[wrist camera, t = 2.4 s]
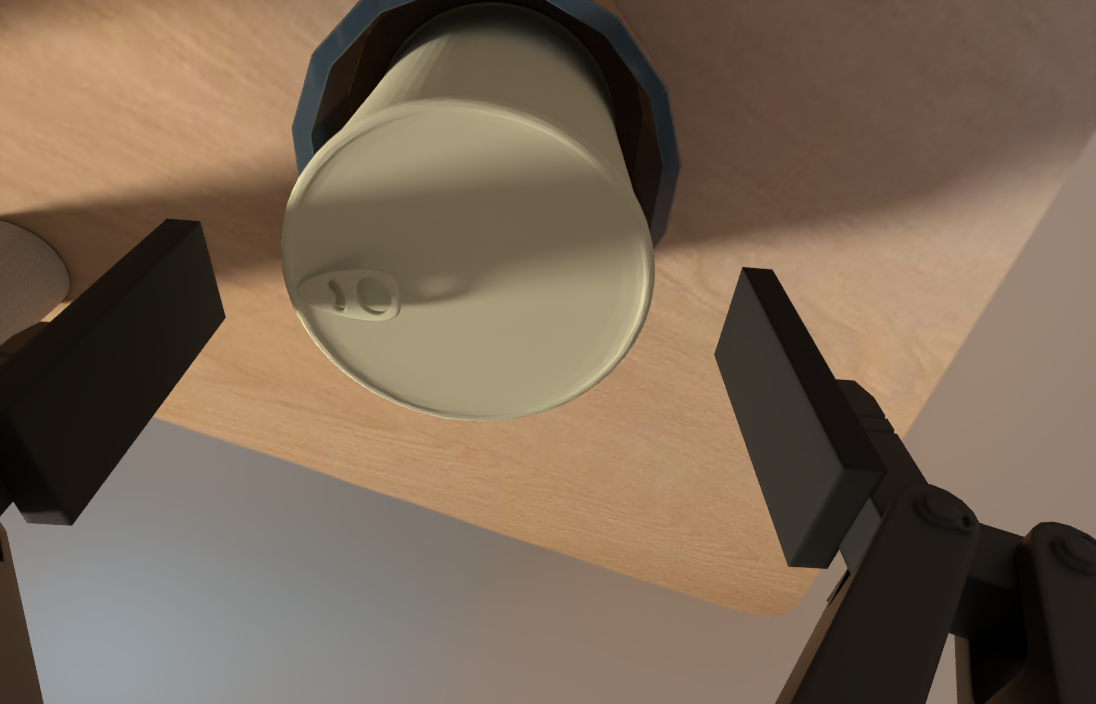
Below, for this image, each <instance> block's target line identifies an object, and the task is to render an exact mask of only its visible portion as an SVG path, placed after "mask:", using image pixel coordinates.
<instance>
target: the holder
mask: <svg viewBox="0 0 1096 704" xmlns="http://www.w3.org/2000/svg"><path fill="white" fill-rule="evenodd" d="M413 1H416V0H360V1H359V2H358V3H357V4H356V5H355V6H354V7H353V8H352V9H351V11H350V12H349V13H348V14H347V15H346V16H345V17H344V18H343V19H342V21H341V22H340V23H339V24H338V25H337V26H336V27H335V28H334V29H333V31H332V32H331V33H330V34H329V35H328V36H327V37H326V38H325V39H324V41H323V42H322V43H321V44H320V45H319V46H318V47H317V48H316V49H315V51H314V52H313V54H312V56H311V59H310V63H309V66H308V70H307V74H306V77H305V81H304V85H303V88H302V92H301V96H300V99H299V103H298V106H297V110H296V114H295V117H294V121H293V125H292V136H293V142H294V149H295V155H296V162H297V168H298V174H299V177H300V175H301V173H302V172H303V170H304V169H305V168H306V166H307V165H308V163H309V162H310V161H311V159H312V158H313V157H314V155H315V154H316V153H317V152H318V151H319V150H320V149H321V148H322V147H323V146H324V145H325V144H326V143H327V142H328V141H329V140H330V139H331V138H332V137H333V136H335V135H336V134H337V133H338V132H339V131H341V130H342V129H343V127H344V126H345V125H346V124H347V122H348V121H349V120H350V119H351V118H352V111H351V100H350V89H351V86H352V82H353V79H354V76H355V73H356V70H357V67H358V64H359V61H360V57H361V54H362V51H363V48H364V45H365V42H366V39H367V36H368V33H369V32H370V31H371V30H372V29H373V28H374V27H375V26H376V24H377V23H378V22H379V21H380V20H381V19H382V18H383V17H384V16H385V15H386V14H387V13H388V12H389V11H390V10H392V9H394V8H397V7H400V6H403V5H405V4H408V3H411V2H413ZM546 1H548V2H549V3H551V4H553V5H554V6H556V7H558V8H559V9H561V10H563V11H564V12H566V13H568V14H569V15H571V16H573V17H574V18H576V19H578V20H579V21H581V22H583V23H584V24H586V25H588V26H589V27H591V28H593V29H594V30H596V31H598V32H599V33H601V34H603V35H604V36H606V38H607V39H608V41H609V42H610V43H611V45H612V46H613V48H614V49H615V51H616V52H617V53H618V55H619V56H620V58H621V59H622V61H623V62H624V63H625V65H626V66H627V68H628V69H629V71H630V72H631V73H632V75H633V76H634V78H635V81H636V86H637V90H638V95H639V100H640V105H641V109H642V114H643V125H642V130H641V136H640V141H639V147H638V152H637V157H636V163H635V168H634V174H633V176H632V178H631V179H630V182H631V185H632V188H633V192H634V194H635V196H636V198H637V200H638V202H639V204H640V206H641V208H642V211H643V213H644V215H645V218H646V221H647V224H648V228H649V232H650V235H651V240H652V245H653V250H654V249H655V247H656V246H657V245H658V243H659V242H660V240H661V239H662V238H663V236H664V235H665V233H666V230H667V226H668V221H669V217H670V213H671V208H672V204H673V200H674V195H675V191H676V187H677V182H678V178H679V174H680V169H681V159H680V153H679V148H678V142H677V137H676V131H675V126H674V120H673V115H672V109H671V104H670V98H669V93H668V89H667V86H666V85H665V83H664V81H663V79H662V78H661V76H660V74H659V72H658V71H657V69H656V67H655V65H654V64H653V62H652V60H651V58H650V57H649V55H648V53H647V51H646V50H645V48H644V47H643V45H642V44H641V42H640V41H639V39H638V38H637V36H636V35H635V33H634V32H633V30H632V29H631V27H630V26H629V24H628V23H627V21H626V20H625V18H624V17H623V15H622V14H621V13H620V11H619V10H618V8H617V7H616V5H615V4H614V2H613V1H612V0H546Z"/></svg>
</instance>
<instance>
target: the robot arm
mask: <svg viewBox="0 0 1096 704" xmlns="http://www.w3.org/2000/svg"><path fill="white" fill-rule="evenodd" d="M225 318H226V317H225V313H224V309H223V306H222V302H221V298H220V294H219V290H218V286H217V283H216V279H215V275H214V271H213V267H212V264H211V260H210V256H209V252H208V248H207V245H206V241H205V237H204V233H203V229H202V226H201V222H200V221H191V220H179V219H168V218H167V219H166V220H165V221H164V222H163V223H161V224H160V225H159V226H158V227H157V228H156V229H155V230H153V231H152V232H151V233H150V234H149V235H148V236H147V237H146V238H144V239H143V240H142V241H141V242H140V243H139V244H138V245H137V246H135V247H134V248H133V249H132V250H131V251H130V252H129V253H128V254H126V255H125V256H124V257H123V258H122V259H121V260H120V261H118V262H117V263H116V264H115V265H114V266H113V267H112V268H111V269H109V270H108V271H107V272H106V273H105V274H104V275H103V276H102V277H100V278H99V279H98V280H97V281H96V282H95V283H94V284H93V285H91V286H90V287H89V288H88V289H87V290H86V291H85V292H84V293H82V294H81V295H80V296H79V297H78V298H77V299H76V300H74V301H73V302H72V303H71V304H70V305H69V306H68V307H67V308H65V309H64V310H63V311H62V312H61V313H60V314H59V315H58V316H56V317H55V318H54V319H53V320H52V321H51V322H41V321H40V322H38V323H36V324H34V325H32V326H30V327H28V328H26V329H24V330H22V331H20V332H18V333H16V334H14V335H12V336H11V337H10V338H9V339H8V340H6V341H5V342H4V343H3V344H2V345H1V346H0V516H1V515H2V514H3V513H4V511H5V510H6V509H7V508H8V506H9V505H10V504H11V503H12V502H14V503H15V505H16V506H17V508H18V510H19V511H20V513H21V514H22V515H23V517H24V519H25V520H26V522H27V523H36V524H53V525H70V526H72V525H73V524H74V522H75V521H76V519H77V518H78V517H79V515H80V514H81V513H82V511H83V510H84V509H85V507H86V506H87V505H88V503H89V502H90V500H91V499H92V498H93V496H94V495H95V494H96V492H97V491H98V490H99V488H100V487H101V485H102V484H103V483H104V482H105V480H106V479H107V477H108V476H109V475H110V473H111V472H112V471H113V469H114V468H115V467H116V465H117V464H118V463H119V461H120V460H121V459H122V457H123V456H124V455H125V453H126V452H127V450H128V449H129V448H130V446H131V445H132V444H133V442H134V441H135V440H136V438H137V437H138V436H139V434H140V433H141V431H142V430H143V429H144V427H145V426H146V425H147V423H148V422H149V421H150V419H151V418H152V417H153V415H154V414H155V413H156V411H157V410H158V408H159V407H160V406H161V404H162V403H163V402H164V400H165V399H166V398H167V396H168V395H169V394H170V392H171V391H172V390H173V388H174V387H175V385H176V384H177V383H178V381H179V380H180V379H181V377H182V376H183V375H184V373H185V372H186V371H187V369H188V368H189V367H190V365H191V364H192V362H193V361H194V360H195V358H196V357H197V356H198V354H199V353H200V352H201V350H202V349H203V348H204V346H205V345H206V343H207V342H208V341H209V339H210V338H211V337H212V335H213V334H214V333H215V331H216V330H217V329H218V327H219V326H220V325H221V323H222V322H223V320H224V319H225ZM714 355H715V358H716V361H717V364H718V367H719V370H720V373H721V375H722V378H723V381H724V384H725V387H726V390H727V393H728V395H729V398H730V401H731V404H732V407H733V410H734V413H735V415H736V418H737V421H738V424H739V427H740V430H741V433H742V436H743V438H744V441H745V444H746V447H747V450H748V453H749V456H750V458H751V461H752V464H753V467H754V470H755V473H756V476H757V478H758V481H759V484H760V487H761V490H762V493H763V496H764V498H765V501H766V504H767V507H768V510H769V513H770V516H771V518H772V521H773V524H774V527H775V530H776V533H777V536H778V539H779V541H780V544H781V547H782V550H783V553H784V556H785V559H786V561H787V564H788V567H805V568H822V569H828V567H829V565H830V564H831V562H832V561H833V559H834V557H835V556H836V554H837V552H838V551H839V549H840V551H841V554H842V556H843V558H844V561H845V563H846V565H847V568H848V569H847V570H846V572H845V573H844V575H843V576H842V578H841V579H840V581H839V582H838V584H837V585H836V587H835V589H834V590H833V592H832V593H831V595H830V596H829V598H828V599H827V601H828V604H827V606H826V608H825V610H824V612H823V614H822V616H821V618H820V619H819V622H818V623H817V625H816V627H815V629H814V631H813V633H812V635H811V637H810V638H809V640H808V642H807V644H806V646H805V648H804V650H803V652H802V654H801V656H800V657H799V659H798V661H797V663H796V665H795V667H794V669H793V671H792V673H791V674H790V676H789V678H788V680H787V682H786V684H785V686H784V688H783V690H782V692H781V693H780V695H779V697H778V699H777V701H776V703H775V704H925V703H926V700H927V697H928V694H929V691H930V688H931V685H932V682H933V679H934V676H935V673H936V669H937V667H938V664H939V661H940V657H941V654H942V651H943V648H944V645H945V642H946V639H947V636H948V633H950V634H953V635H955V658H956V678H957V679H956V680H957V702H958V704H1096V540H1095V539H1094V538H1092V537H1091V536H1090V535H1088V534H1086V533H1084V532H1082V531H1080V530H1078V529H1076V528H1073V527H1072V526H1068V525H1065V524H1061V523H1057V522H1041V523H1039V524H1038V525H1036V526H1035V527H1033V528H1032V530H1031V531H1030V532H1029V533H1028V534H1027V535H1026V536H1025V537H1023V536H1020V535H1017V534H1013V533H1010V532H1007V531H1004V530H1000V529H997V528H994V527H990V526H987V525H984V524H982V523H979V521H978V520H977V518H976V516H975V514H974V512H973V511H972V510H971V509H970V508H969V507H968V506H967V505H966V504H965V503H964V502H963V501H962V500H960V499H959V498H957V497H956V496H954V495H953V494H951V493H950V492H948V491H946V490H944V489H941V488H939V487H936V486H934V485H931V484H928V483H927V481H926V480H925V478H924V476H923V475H922V473H921V472H920V470H919V468H918V467H917V465H916V463H915V462H914V460H913V459H912V457H911V456H910V454H909V452H908V451H907V449H906V448H905V446H904V444H903V443H902V441H901V440H900V438H899V436H898V435H897V434H894V429H893V427H892V425H891V424H890V422H889V421H888V419H885V414H884V413H883V411H882V409H881V408H880V406H879V405H878V403H877V402H876V400H875V398H874V397H873V396H872V395H871V394H869V393H868V392H867V391H866V390H865V389H864V388H862V387H861V386H860V385H859V384H858V383H857V382H855V381H852V380H839V379H835V377H834V376H833V374H832V372H831V370H830V369H829V367H828V365H827V363H826V362H825V360H824V358H823V356H822V355H821V353H820V351H819V350H818V348H817V346H816V344H815V343H814V341H813V339H812V337H811V336H810V334H809V332H808V330H807V329H806V327H805V325H804V323H803V322H802V320H801V318H800V317H799V315H798V313H797V311H796V310H795V308H794V306H793V304H792V303H791V301H790V299H789V297H788V296H787V294H786V292H785V290H784V289H783V287H782V285H781V284H780V282H779V280H778V278H777V277H776V275H775V273H774V271H773V270H771V269H760V268H748V267H742V270H741V273H740V276H739V279H738V282H737V286H736V289H735V292H734V295H733V298H732V301H731V304H730V307H729V310H728V314H727V317H726V320H725V323H724V326H723V329H722V332H721V335H720V339H719V342H718V345H717V348H716V351H715V354H714ZM0 704H44V703H43V699H42V694H41V689H40V685H39V680H38V675H37V671H36V666H35V662H34V657H33V653H32V648H31V643H30V639H29V634H28V629H27V625H26V620H25V615H24V611H23V606H22V601H21V597H20V592H19V588H18V583H17V578H16V574H15V569H14V564H13V560H12V555H11V550H10V546H9V541H8V537H7V532H6V530H5V529H4V527H3V526H2V524H1V523H0Z"/></svg>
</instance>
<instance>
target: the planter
mask: <svg viewBox="0 0 1096 704" xmlns="http://www.w3.org/2000/svg"><path fill="white" fill-rule="evenodd" d="M69 287H70V280H69V275H68V272H67V269H66V267H65V265H64V263H63V262H62V260H61V259H60V257H59V256H58V255H57V253H56V252H55V251H54V250H53V249H52V248H51V247H50V246H49V245H48V244H46V243H45V242H44V241H43V240H42V239H40V238H39V237H37V236H36V235H34V234H33V233H31V232H29V231H27V230H25V229H23V228H21V227H19V226H16V225H14V224H11V223H7V222H3V221H0V346H1V345H2V344H3V343H4V342H5V341H6V340H8V339H9V338H10V337H11V336H12V335H14V334H16V333H18V332H20V331H22V330H24V329H26V328H28V327H30V326H32V325H34V324H36V323H38V322H40V321H41V320H42V319H43V318H44V317H45V316H47V315H48V314H49V313H50V312H51V311H52V310H53V309H54V308H55V307H57V306H58V304H59V303H60V302H61V301H62V300H63V299H64V298H65V297H66V295H67V294H68V291H69Z"/></svg>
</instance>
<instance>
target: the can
mask: <svg viewBox="0 0 1096 704" xmlns="http://www.w3.org/2000/svg"><path fill="white" fill-rule="evenodd" d="M281 259H282V270H283V274H284V279H285V284H286V288H287V291H288V294H289V297H290V299H291V302H292V304H293V307H294V309H295V311H296V313H297V315H298V317H299V319H300V320H301V322H302V324H303V325H304V327H305V329H306V330H307V332H308V334H309V335H310V337H311V338H312V339H313V341H314V342H315V343H316V345H317V346H318V347H319V348H320V349H321V350H322V352H323V353H324V354H325V355H326V356H327V357H328V358H329V359H330V360H331V361H332V362H333V363H334V364H335V365H336V366H337V367H338V368H339V369H340V370H342V371H343V372H344V373H345V374H347V375H348V376H349V377H350V378H351V379H353V380H354V381H356V382H357V383H359V384H360V385H362V386H363V387H365V388H366V389H368V390H369V391H371V392H373V393H375V394H377V395H379V396H380V397H382V398H384V399H386V400H388V401H391V402H393V403H395V404H397V405H400V406H402V407H405V408H408V409H411V410H414V411H417V412H420V413H424V414H427V415H432V416H437V417H442V418H447V419H453V420H464V421H499V420H508V419H515V418H521V417H526V416H530V415H534V414H537V413H541V412H544V411H547V410H550V409H553V408H555V407H557V406H560V405H562V404H565V403H567V402H569V401H571V400H573V399H574V398H576V397H578V396H580V395H581V394H583V393H585V392H586V391H588V390H589V389H591V388H592V387H593V386H595V385H596V384H598V383H599V382H600V381H601V380H602V379H604V378H605V377H606V376H607V375H608V374H609V373H611V372H612V370H613V369H614V368H615V367H616V366H617V365H618V364H619V363H620V361H621V360H622V359H623V358H624V357H625V356H626V354H627V353H628V351H629V350H630V348H631V347H632V345H633V344H634V343H635V341H636V339H637V337H638V335H639V333H640V331H641V329H642V327H643V325H644V323H645V320H646V317H647V314H648V311H649V308H650V304H651V299H652V295H653V288H654V279H655V262H654V250H653V245H652V240H651V235H650V232H649V228H648V224H647V221H646V218H645V215H644V213H643V211H642V208H641V206H640V204H639V202H638V200H637V198H636V196H635V194H634V192H633V188H632V185H631V182H630V178H629V175H628V172H627V168H626V165H625V161H624V158H623V155H622V151H621V148H620V145H619V141H618V138H617V134H616V127H615V112H614V105H613V101H612V97H611V93H610V90H609V87H608V84H607V81H606V79H605V77H604V75H603V73H602V71H601V69H600V67H599V65H598V64H597V62H596V60H595V59H594V57H593V56H592V54H591V53H590V52H589V50H588V49H587V48H586V47H585V46H584V45H583V43H582V42H581V41H580V40H579V39H578V38H577V37H576V36H575V35H574V34H573V33H571V32H570V31H569V30H568V29H567V28H565V27H564V26H562V25H561V24H560V23H558V22H557V21H555V20H553V19H552V18H550V17H548V16H546V15H544V14H542V13H540V12H537V11H535V10H532V9H530V8H527V7H524V6H520V5H515V4H510V3H503V2H480V3H472V4H467V5H463V6H458V7H455V8H452V9H450V10H447V11H445V12H443V13H441V14H439V15H437V16H435V17H433V18H432V19H430V20H428V21H427V22H425V23H424V24H423V25H421V26H420V27H419V28H417V29H416V30H415V31H414V32H413V33H412V34H411V35H410V36H409V37H408V38H407V39H406V40H405V41H404V43H403V44H402V45H401V47H400V48H399V49H398V51H397V52H396V54H395V55H394V57H393V59H392V60H391V62H390V64H389V66H388V69H387V71H386V73H385V76H384V78H383V79H382V80H381V81H380V83H379V84H378V85H377V87H376V88H375V89H374V91H373V92H372V93H371V94H370V95H369V97H368V98H367V99H366V100H365V102H364V103H363V104H362V105H361V106H360V108H359V109H358V110H357V111H356V113H355V114H354V115H353V116H352V118H351V119H350V120H349V121H348V122H347V124H346V125H345V126H344V127H343V129H342V130H341V131H339V132H338V133H337V134H336V135H335V136H333V137H332V138H331V139H330V140H329V141H328V142H327V143H326V144H325V145H324V146H323V147H322V148H321V149H320V150H319V151H318V152H317V153H316V154H315V155H314V157H313V158H312V159H311V161H310V162H309V163H308V165H307V166H306V168H305V169H304V170H303V172H302V173H301V175H300V177H299V178H298V180H297V182H296V184H295V186H294V188H293V191H292V193H291V196H290V198H289V201H288V204H287V207H286V211H285V215H284V219H283V226H282V232H281Z"/></svg>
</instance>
